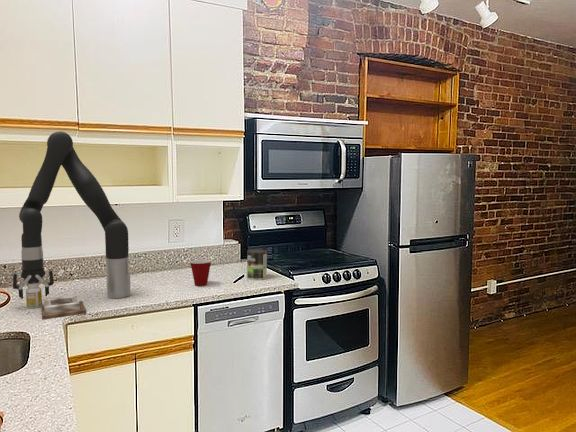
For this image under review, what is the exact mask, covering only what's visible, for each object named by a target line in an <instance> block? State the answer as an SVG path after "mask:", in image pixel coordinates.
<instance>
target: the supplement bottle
mask: <svg viewBox="0 0 576 432" xmlns="http://www.w3.org/2000/svg"><path fill="white" fill-rule="evenodd" d="M39 282H40V281H39ZM39 282H37V283H35V282H33V283H28V282H27V288H26V290H25V296H26V297H25V298H26V299H25V300H26V308H28V309H37V308H41V306H43V302H42V301H43V299H42V296H43V295H42V288H41V287H40V283H39Z"/></svg>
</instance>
